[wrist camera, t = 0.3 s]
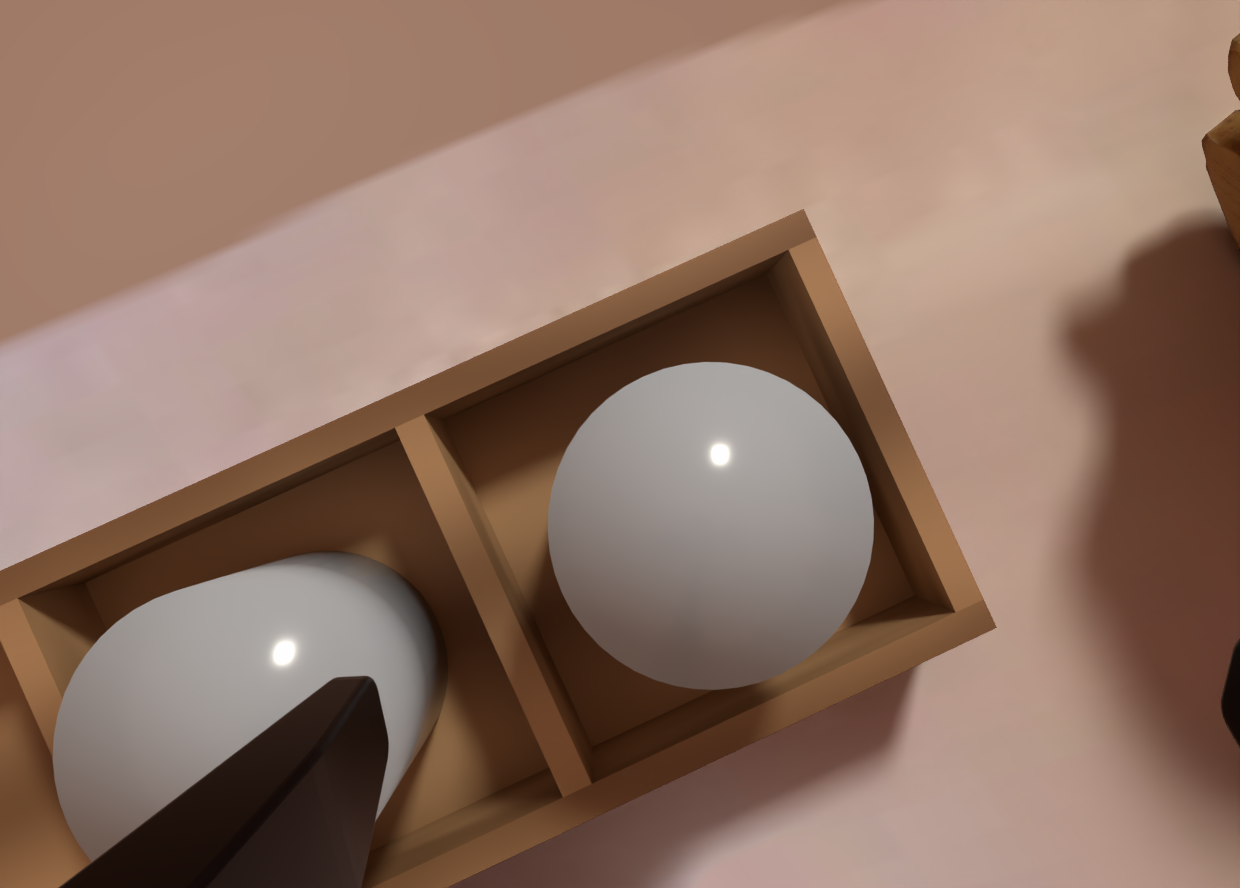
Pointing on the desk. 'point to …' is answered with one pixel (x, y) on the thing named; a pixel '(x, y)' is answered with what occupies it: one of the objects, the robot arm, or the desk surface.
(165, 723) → the white rounded cylinder
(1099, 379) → the desk surface
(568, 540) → the pale grey cylinder
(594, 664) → the rack
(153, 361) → the desk surface
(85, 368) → the desk surface
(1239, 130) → the wooden carving
